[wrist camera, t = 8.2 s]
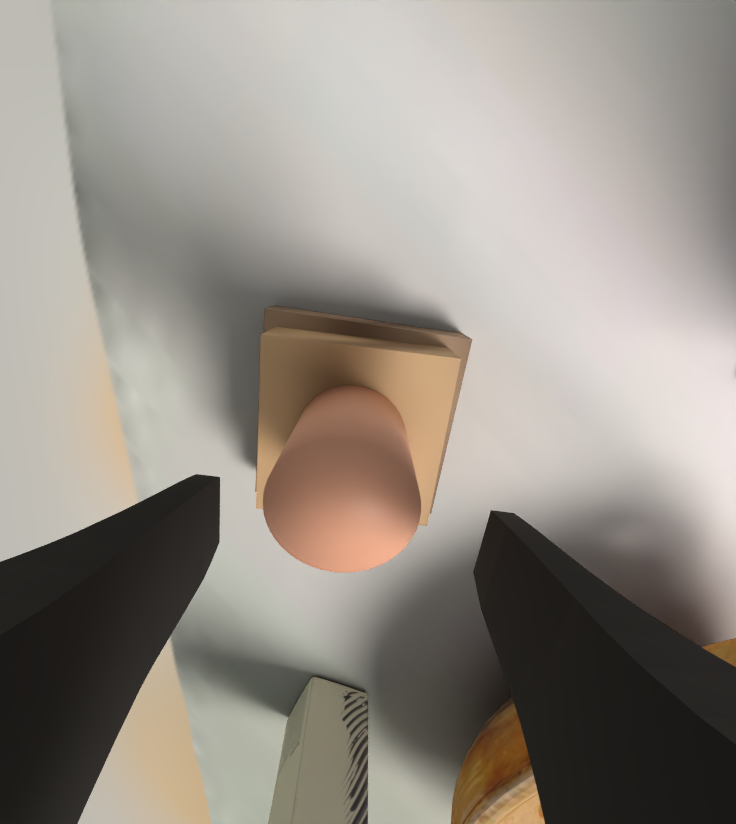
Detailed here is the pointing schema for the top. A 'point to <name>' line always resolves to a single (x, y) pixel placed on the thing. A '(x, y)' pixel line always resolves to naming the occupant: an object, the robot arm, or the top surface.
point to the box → (324, 758)
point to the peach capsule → (344, 483)
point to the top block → (361, 366)
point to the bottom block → (376, 330)
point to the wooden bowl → (511, 768)
